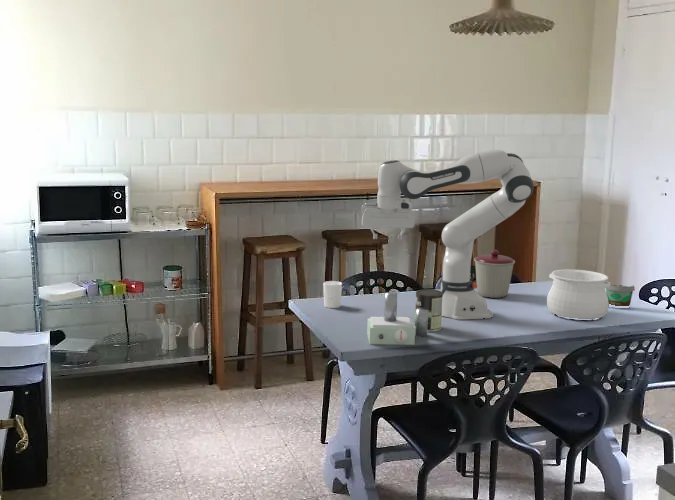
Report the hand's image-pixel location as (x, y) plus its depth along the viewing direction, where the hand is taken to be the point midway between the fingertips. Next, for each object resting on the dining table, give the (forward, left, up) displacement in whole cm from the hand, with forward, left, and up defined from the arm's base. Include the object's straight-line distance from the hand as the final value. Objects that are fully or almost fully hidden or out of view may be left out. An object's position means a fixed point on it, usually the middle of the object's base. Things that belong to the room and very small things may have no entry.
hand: (387, 239), depth 299 cm
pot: (-81, -15, -33) cm, 89 cm away
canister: (-53, -46, -33) cm, 78 cm away
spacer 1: (0, +21, -26) cm, 34 cm away
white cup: (+20, -24, -33) cm, 46 cm away
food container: (-103, -27, -33) cm, 112 cm away
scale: (0, +22, -33) cm, 40 cm away
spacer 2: (-12, +17, -33) cm, 39 cm away
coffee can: (-16, +7, -33) cm, 38 cm away
